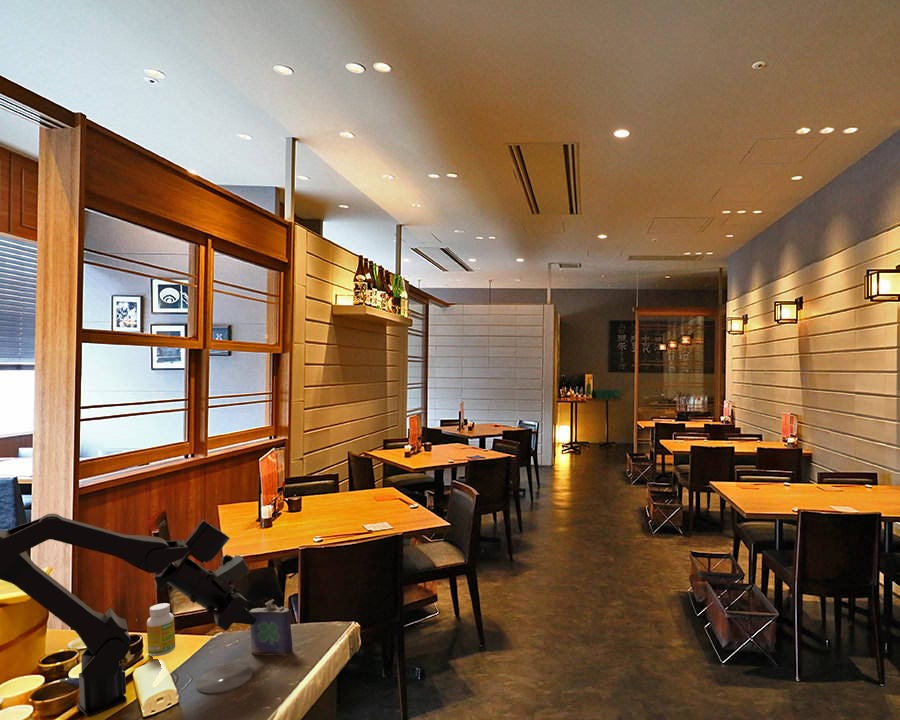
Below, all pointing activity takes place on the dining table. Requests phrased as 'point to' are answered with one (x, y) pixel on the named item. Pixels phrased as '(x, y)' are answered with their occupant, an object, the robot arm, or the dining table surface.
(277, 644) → the flask
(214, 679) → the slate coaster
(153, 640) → the supplement bottle
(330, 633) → the dining table surface
